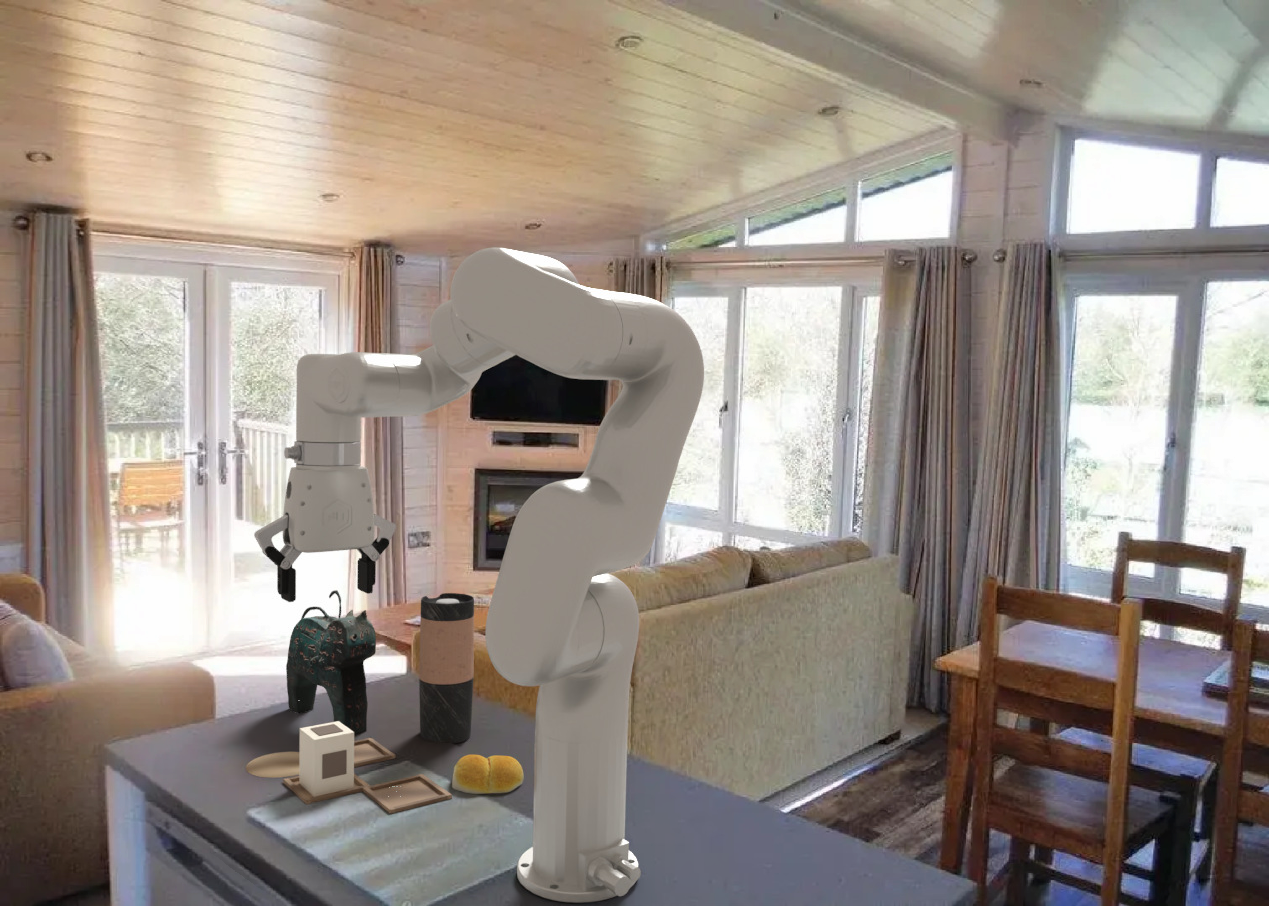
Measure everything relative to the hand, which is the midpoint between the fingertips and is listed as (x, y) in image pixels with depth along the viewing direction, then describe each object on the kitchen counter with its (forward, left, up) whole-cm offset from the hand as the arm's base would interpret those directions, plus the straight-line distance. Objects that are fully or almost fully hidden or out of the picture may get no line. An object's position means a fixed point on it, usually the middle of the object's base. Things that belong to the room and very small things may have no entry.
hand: (327, 595), depth 125 cm
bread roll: (-10, -17, -25) cm, 31 cm away
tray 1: (0, 0, -24) cm, 24 cm away
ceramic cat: (+24, -9, -24) cm, 35 cm away
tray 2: (+8, -7, -24) cm, 26 cm away
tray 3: (-8, -7, -24) cm, 26 cm away
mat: (+10, +2, -24) cm, 26 cm away
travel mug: (+9, -21, -24) cm, 33 cm away
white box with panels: (0, 0, -24) cm, 24 cm away
